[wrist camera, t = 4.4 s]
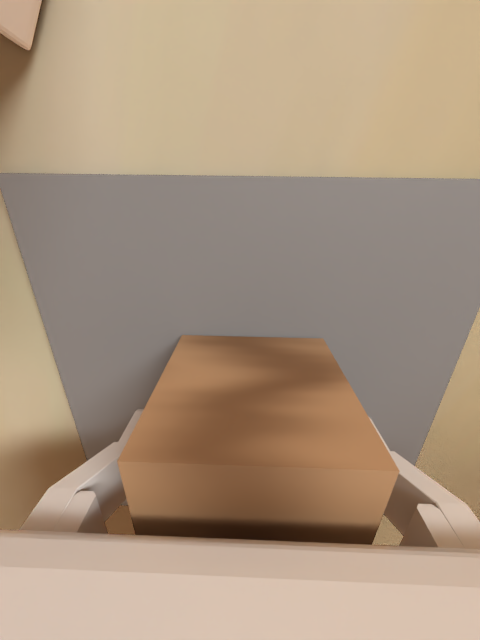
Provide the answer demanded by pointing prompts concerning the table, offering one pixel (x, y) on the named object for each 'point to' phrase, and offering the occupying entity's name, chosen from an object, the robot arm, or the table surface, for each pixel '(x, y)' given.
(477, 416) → the table surface
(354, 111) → the table surface
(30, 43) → the milk carton
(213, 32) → the table surface
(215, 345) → the walnut block
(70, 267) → the tile
